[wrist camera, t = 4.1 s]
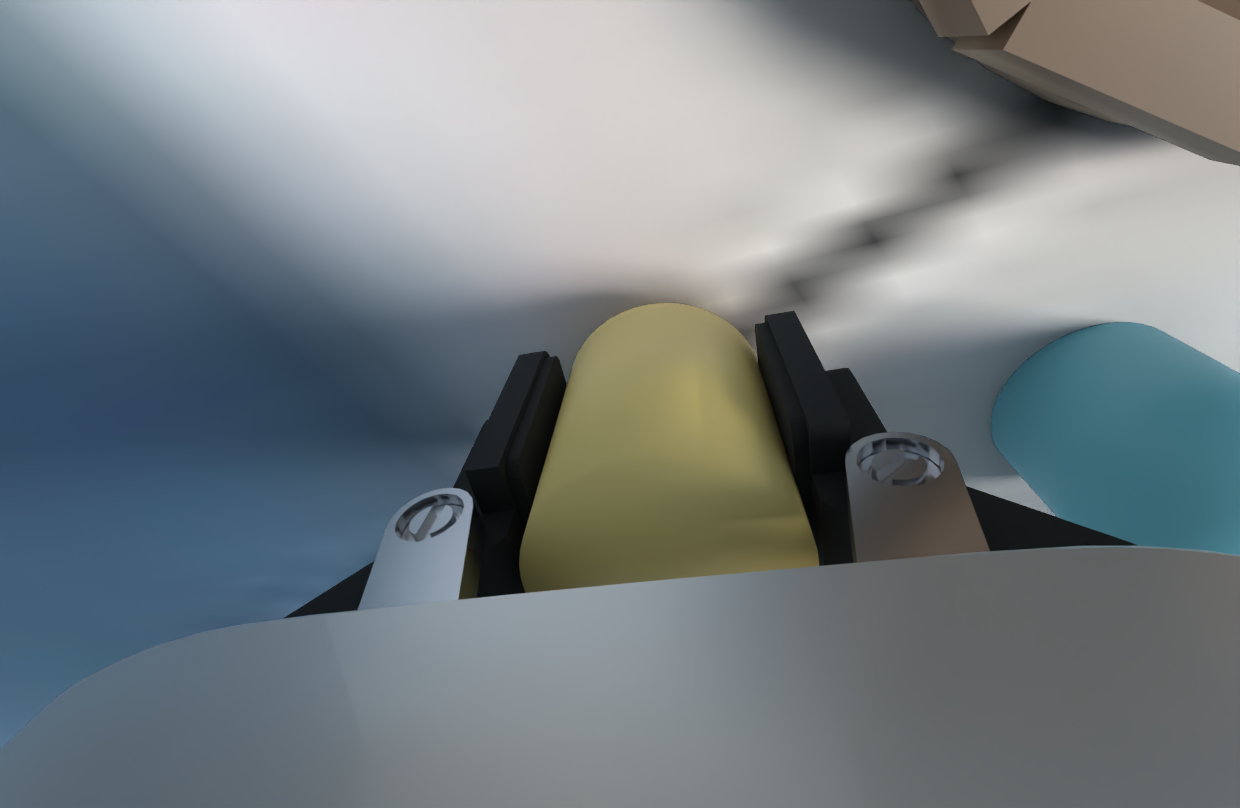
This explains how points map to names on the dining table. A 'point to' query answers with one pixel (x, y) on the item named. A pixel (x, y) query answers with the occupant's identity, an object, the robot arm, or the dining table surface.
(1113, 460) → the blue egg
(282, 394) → the dining table surface
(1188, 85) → the groove tray
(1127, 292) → the dining table surface
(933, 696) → the robot arm
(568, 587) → the ochre bead
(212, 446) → the dining table surface
